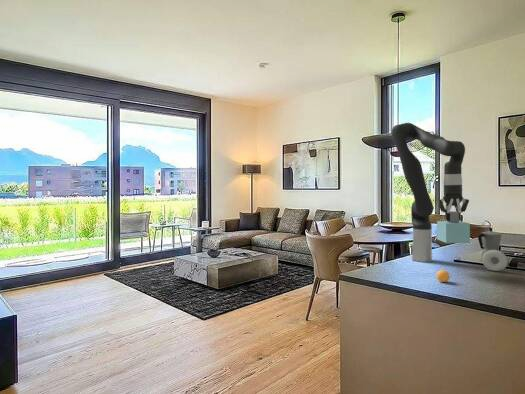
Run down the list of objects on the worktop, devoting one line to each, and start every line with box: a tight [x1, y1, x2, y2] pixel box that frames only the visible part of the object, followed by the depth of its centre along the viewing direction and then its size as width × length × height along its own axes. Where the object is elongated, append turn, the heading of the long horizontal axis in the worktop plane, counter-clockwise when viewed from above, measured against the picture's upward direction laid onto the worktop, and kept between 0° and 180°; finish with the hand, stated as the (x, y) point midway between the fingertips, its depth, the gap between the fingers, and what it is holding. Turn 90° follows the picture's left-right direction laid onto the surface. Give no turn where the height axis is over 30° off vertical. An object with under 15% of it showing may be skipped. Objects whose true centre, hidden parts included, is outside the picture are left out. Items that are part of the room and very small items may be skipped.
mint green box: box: [436, 210, 471, 244], centre depth 162 cm, size 10×10×14 cm
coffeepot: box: [477, 227, 503, 264], centre depth 181 cm, size 15×9×18 cm, turn 110°
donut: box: [482, 250, 508, 272], centre depth 164 cm, size 10×4×10 cm, turn 50°
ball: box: [436, 269, 451, 283], centre depth 148 cm, size 5×5×5 cm
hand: (453, 220), depth 162 cm, fingers closed on mint green box, 3 cm apart
